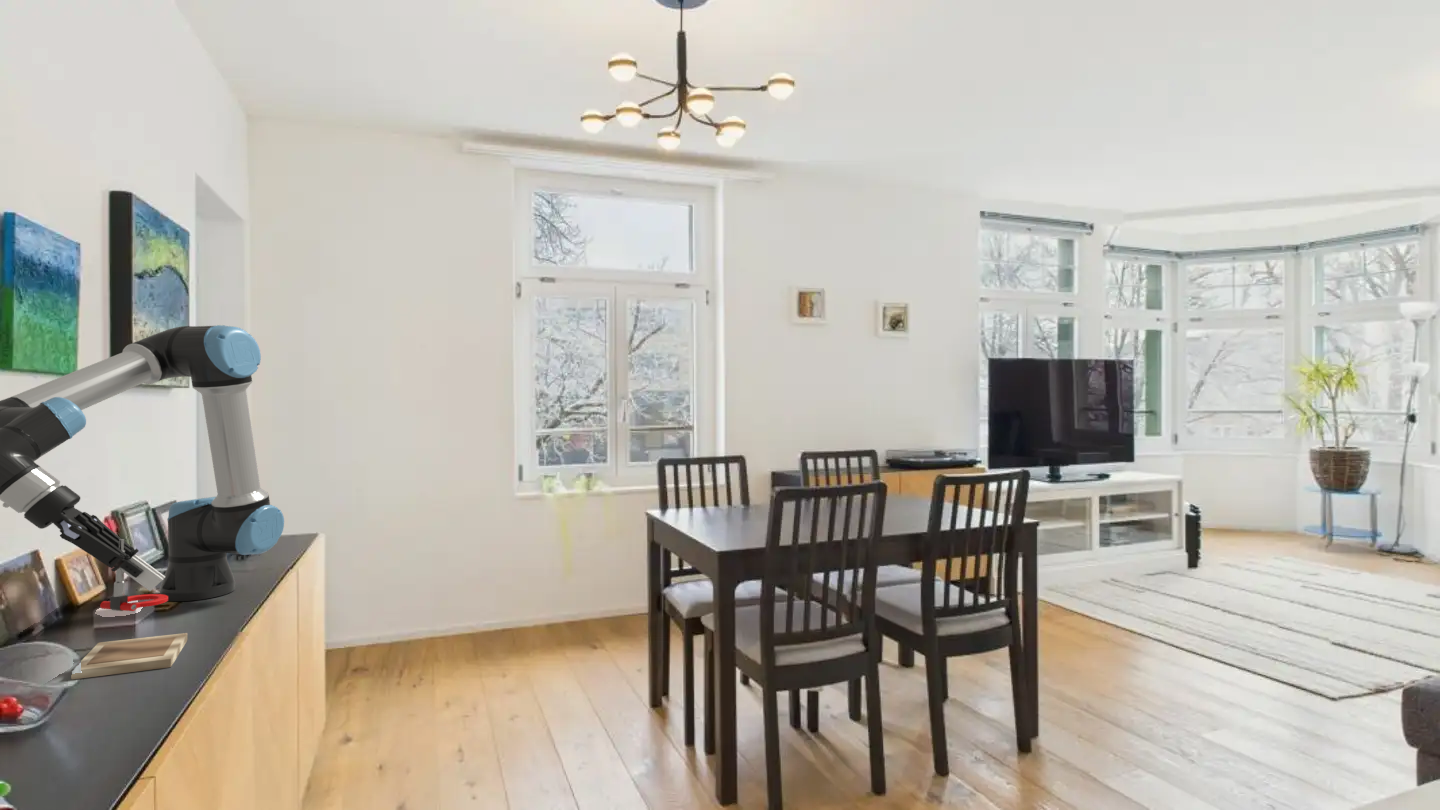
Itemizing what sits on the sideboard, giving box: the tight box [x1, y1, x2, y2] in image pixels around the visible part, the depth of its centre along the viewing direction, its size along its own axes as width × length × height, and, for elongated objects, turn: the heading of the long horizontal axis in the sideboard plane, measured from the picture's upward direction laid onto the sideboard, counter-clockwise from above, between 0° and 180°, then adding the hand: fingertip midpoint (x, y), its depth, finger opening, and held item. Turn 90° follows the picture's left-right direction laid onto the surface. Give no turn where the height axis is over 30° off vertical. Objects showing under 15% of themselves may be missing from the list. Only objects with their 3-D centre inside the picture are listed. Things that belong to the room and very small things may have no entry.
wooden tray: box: [70, 632, 188, 680], centre depth 140 cm, size 16×14×2 cm
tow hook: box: [99, 538, 168, 612], centre depth 143 cm, size 8×13×9 cm
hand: (157, 583), depth 141 cm, fingers closed on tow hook
